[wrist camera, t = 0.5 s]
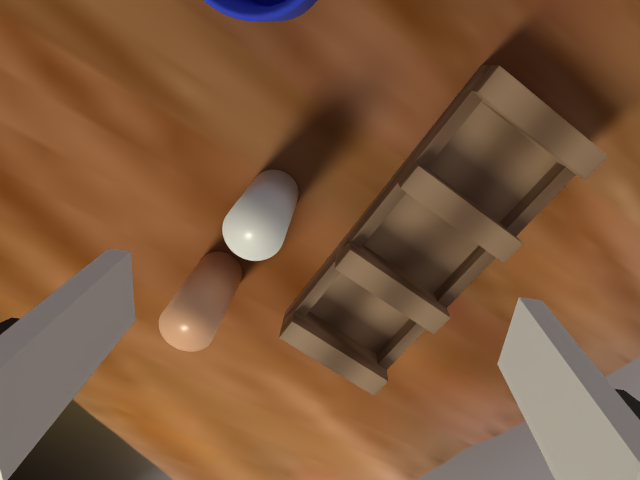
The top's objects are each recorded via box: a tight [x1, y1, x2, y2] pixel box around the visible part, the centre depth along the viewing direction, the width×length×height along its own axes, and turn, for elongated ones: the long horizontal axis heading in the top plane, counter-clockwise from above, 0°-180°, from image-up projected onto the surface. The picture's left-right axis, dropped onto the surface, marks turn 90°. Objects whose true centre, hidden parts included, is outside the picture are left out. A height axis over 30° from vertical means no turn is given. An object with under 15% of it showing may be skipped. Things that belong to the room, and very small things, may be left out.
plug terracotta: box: [159, 251, 242, 352], centre depth 35 cm, size 4×4×9 cm
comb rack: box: [279, 65, 609, 396], centre depth 35 cm, size 10×26×4 cm, turn 145°
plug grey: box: [222, 169, 299, 261], centre depth 32 cm, size 4×4×9 cm
